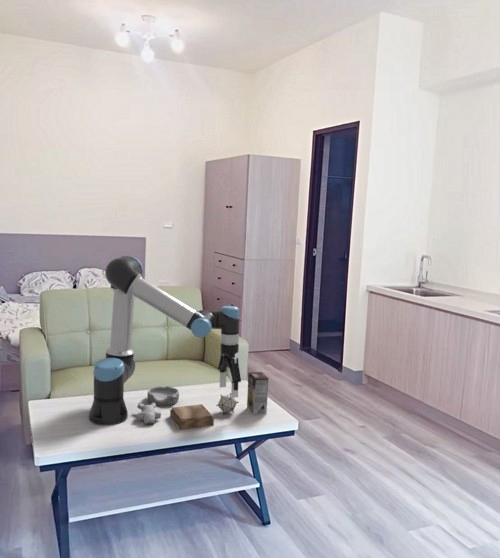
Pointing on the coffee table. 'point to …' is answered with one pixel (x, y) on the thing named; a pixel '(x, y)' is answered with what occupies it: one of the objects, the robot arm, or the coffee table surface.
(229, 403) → the game die
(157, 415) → the grey teddy bear
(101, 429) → the coffee table surface
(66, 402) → the coffee table surface
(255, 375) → the coffee box
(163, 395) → the dish
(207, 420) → the plinth
